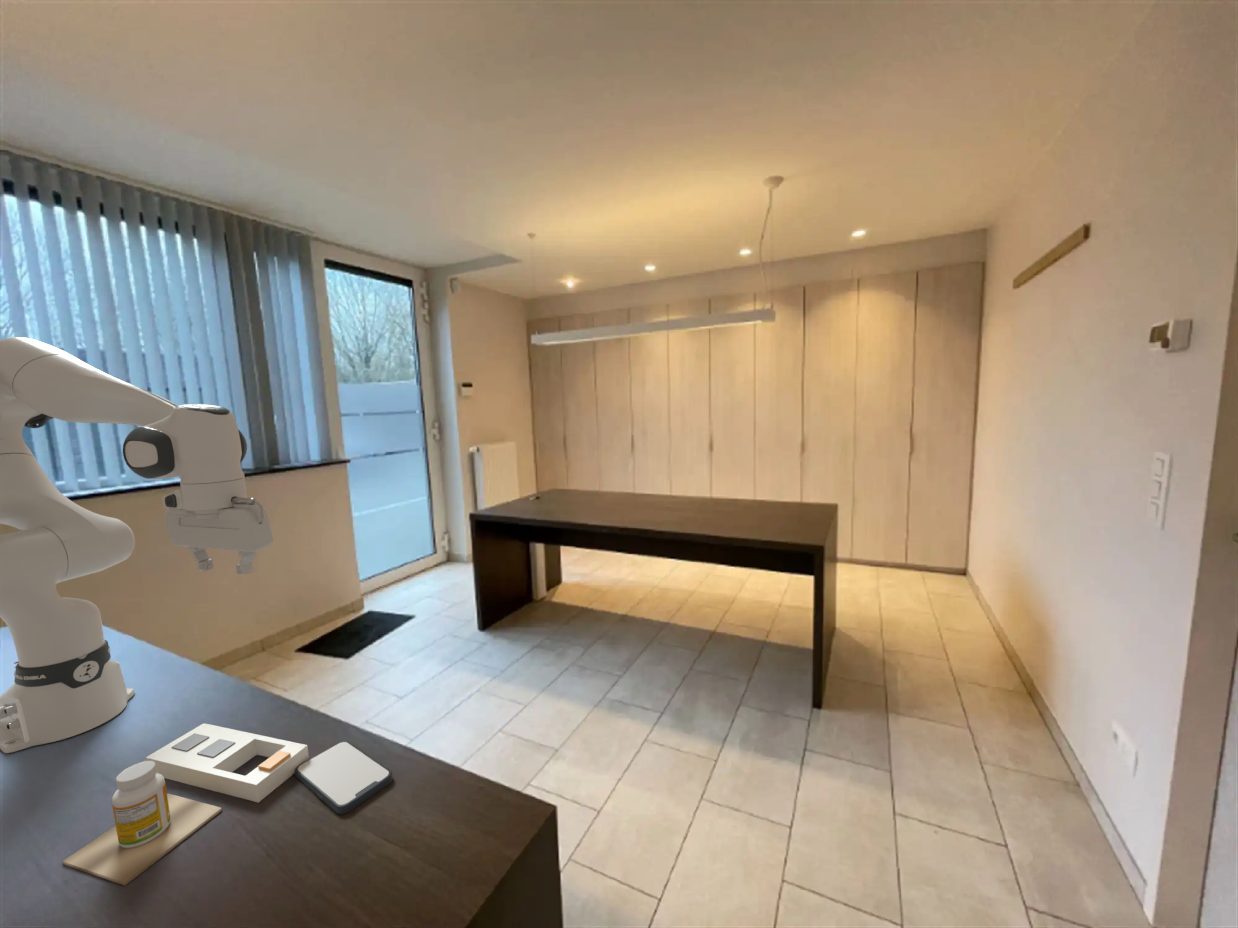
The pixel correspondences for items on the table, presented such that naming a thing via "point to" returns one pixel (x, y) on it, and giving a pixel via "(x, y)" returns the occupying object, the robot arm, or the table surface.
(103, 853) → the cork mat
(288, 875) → the table surface
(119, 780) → the supplement bottle
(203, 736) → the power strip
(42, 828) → the table surface
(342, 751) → the phone case
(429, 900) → the table surface
